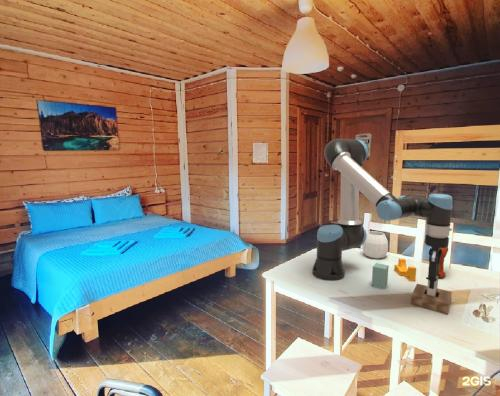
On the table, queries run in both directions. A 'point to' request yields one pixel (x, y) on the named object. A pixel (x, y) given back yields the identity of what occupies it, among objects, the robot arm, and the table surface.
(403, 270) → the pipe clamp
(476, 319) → the table surface
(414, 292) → the socket block
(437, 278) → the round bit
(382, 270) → the grey-green rectangular block
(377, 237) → the white round pot
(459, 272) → the table surface
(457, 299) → the table surface
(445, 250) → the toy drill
